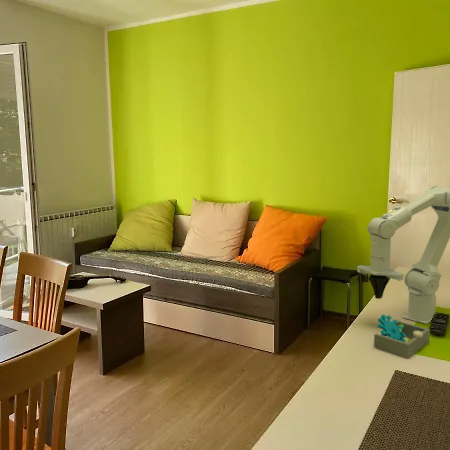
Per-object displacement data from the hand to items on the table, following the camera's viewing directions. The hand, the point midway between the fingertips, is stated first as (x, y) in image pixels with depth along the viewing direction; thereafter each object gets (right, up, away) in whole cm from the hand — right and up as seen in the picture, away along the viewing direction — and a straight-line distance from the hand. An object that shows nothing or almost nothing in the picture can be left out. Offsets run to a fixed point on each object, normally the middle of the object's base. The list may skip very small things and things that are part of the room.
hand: (378, 297), depth 144 cm
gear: (+1, -12, -10) cm, 15 cm away
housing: (+3, -12, -12) cm, 17 cm away
